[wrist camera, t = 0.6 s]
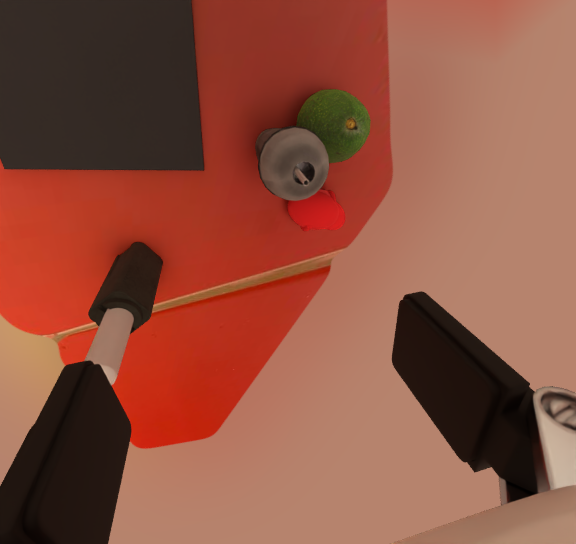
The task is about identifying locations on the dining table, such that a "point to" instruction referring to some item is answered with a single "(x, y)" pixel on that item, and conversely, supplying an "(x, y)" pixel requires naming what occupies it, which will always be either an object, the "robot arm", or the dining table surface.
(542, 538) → the robot arm
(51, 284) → the dining table surface
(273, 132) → the beverage cup
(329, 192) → the red animal figurine
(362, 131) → the fruit
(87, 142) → the mat
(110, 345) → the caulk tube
